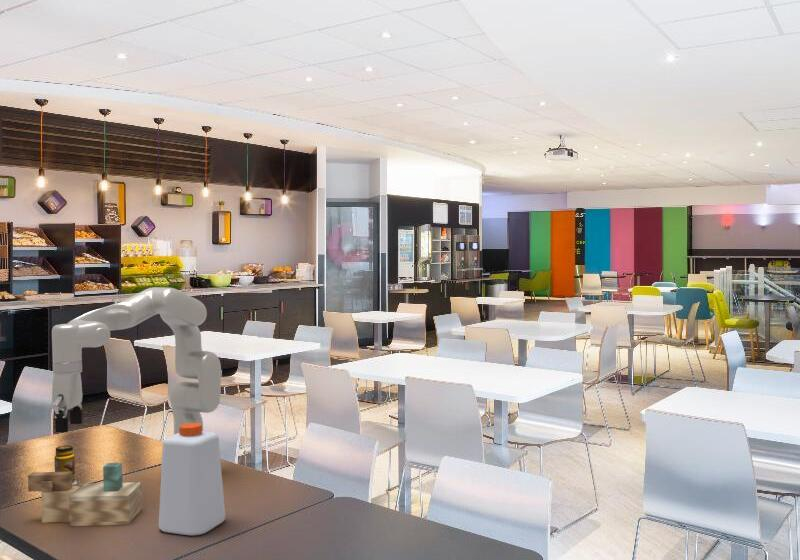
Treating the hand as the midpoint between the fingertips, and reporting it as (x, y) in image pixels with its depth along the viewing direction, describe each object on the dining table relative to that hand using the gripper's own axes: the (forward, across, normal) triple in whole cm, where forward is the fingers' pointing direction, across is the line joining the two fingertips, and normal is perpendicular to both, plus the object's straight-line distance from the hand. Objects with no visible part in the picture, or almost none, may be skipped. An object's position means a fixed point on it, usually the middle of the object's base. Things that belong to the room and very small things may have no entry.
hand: (69, 427), depth 209 cm
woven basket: (+26, 0, +5) cm, 27 cm away
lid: (+21, 0, +10) cm, 23 cm away
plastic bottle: (+26, +8, +36) cm, 45 cm away
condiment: (+26, -34, -17) cm, 46 cm away
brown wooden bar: (+17, 0, -6) cm, 18 cm away
